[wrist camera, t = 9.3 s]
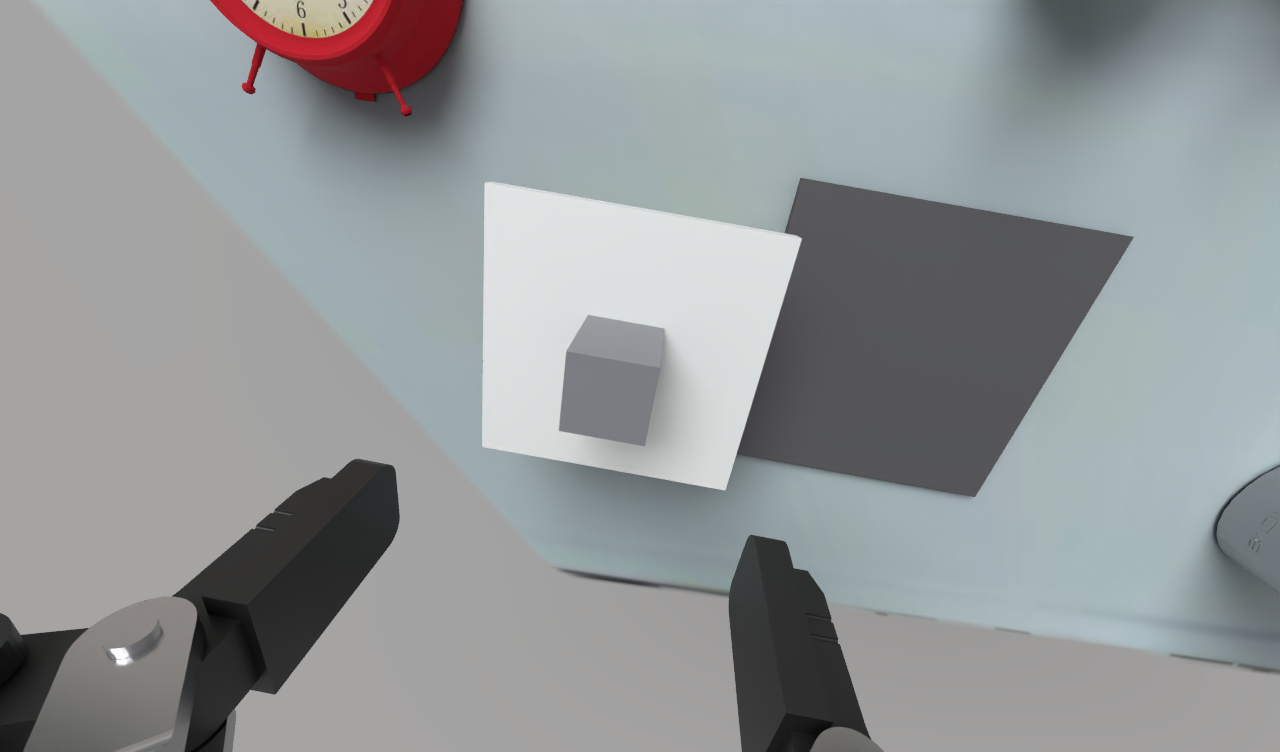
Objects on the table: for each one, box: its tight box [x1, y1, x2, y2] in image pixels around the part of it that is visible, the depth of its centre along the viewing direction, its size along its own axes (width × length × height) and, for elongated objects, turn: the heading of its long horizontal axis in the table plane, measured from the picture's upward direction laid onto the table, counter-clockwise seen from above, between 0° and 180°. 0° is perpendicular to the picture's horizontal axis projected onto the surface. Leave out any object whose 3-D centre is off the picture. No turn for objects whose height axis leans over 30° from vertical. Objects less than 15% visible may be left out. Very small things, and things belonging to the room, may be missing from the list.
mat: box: [737, 178, 1134, 497], centre depth 26 cm, size 16×16×1 cm
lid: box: [482, 182, 802, 490], centre depth 18 cm, size 12×12×5 cm
